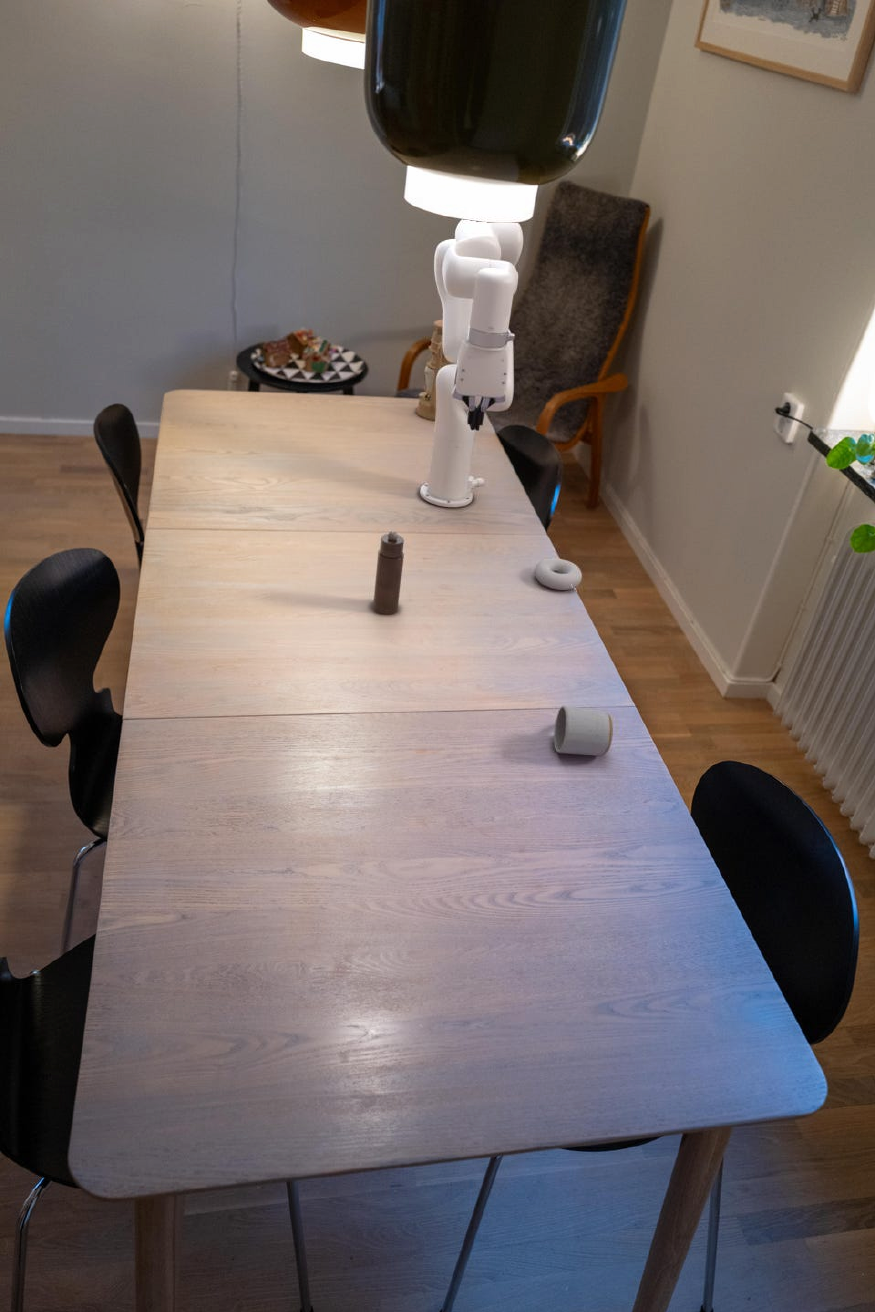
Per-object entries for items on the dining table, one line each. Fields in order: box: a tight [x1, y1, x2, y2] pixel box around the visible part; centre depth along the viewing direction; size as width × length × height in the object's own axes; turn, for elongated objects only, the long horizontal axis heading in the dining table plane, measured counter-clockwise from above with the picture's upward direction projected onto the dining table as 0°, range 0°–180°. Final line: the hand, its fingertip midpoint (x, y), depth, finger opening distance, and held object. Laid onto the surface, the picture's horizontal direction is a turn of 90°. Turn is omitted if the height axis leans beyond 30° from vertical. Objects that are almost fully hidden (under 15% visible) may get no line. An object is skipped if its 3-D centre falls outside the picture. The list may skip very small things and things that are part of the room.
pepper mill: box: [372, 530, 405, 615], centre depth 188 cm, size 5×5×16 cm
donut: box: [534, 557, 583, 591], centre depth 209 cm, size 10×4×10 cm
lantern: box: [416, 319, 455, 421], centre depth 275 cm, size 15×10×30 cm
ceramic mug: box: [553, 705, 614, 757], centre depth 162 cm, size 11×8×8 cm
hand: (474, 427), depth 203 cm, fingers closed
